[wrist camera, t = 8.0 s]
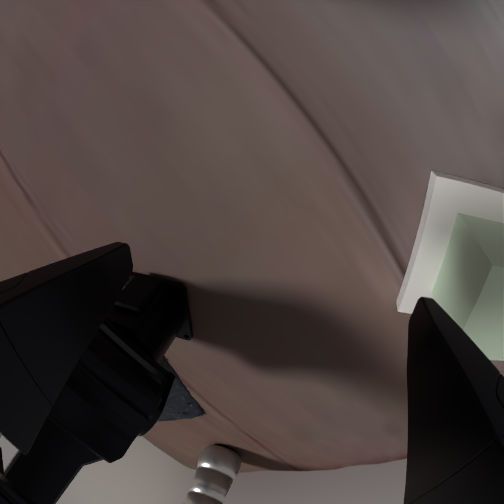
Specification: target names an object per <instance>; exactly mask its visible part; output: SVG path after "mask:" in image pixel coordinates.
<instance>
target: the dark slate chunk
mask: <svg viewBox="0 0 504 504" xmlns="http://www.w3.org/2000/svg"><path fill="white" fill-rule="evenodd" d="M159 364H160V365H161V366H163V367H164V368H165V369H166V370H168V371H169V372H172V373H173V374H174V375H176V373H175V371H174V370H173V369H172V368H171V366H170V365H169V364H168V362H167V361H166V360H165V359H164V357H162V359H161V361H160V362H159ZM202 414H204V413H203V410H202V409H201V408H200V405H199V403H198V402H197V401H196V400H195V399H194V398H193V397H192V396H191V395H190V392H189V391H188V390H187V388H186V386H185V385H184V384H183V383H182V382H181V380H180V379H179V377H178V376H177V375H176V377H175V379H174V382H173V385H172V388H171V390H170V393H169V396H168V399H167V401H166V404H165V407H164V409H163V412H162V414H161V416H160V417H159V419H158V420H157V421H169V420H177V419H188V418H189V419H190V418H194V417H197V416H200V415H202Z"/></svg>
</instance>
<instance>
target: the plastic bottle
mask: <svg viewBox="0 0 504 504" xmlns="http://www.w3.org/2000/svg"><path fill="white" fill-rule="evenodd" d="M240 468H241V459H240V456H239V455H238V454H237V453H236V452H234V451H232V450H230V449H228V448H225V447H222V446H217V445H210V446H208V447H206V448H204V450H203V451H202V453H201V454H200V456H199V460H198V465H197V470H196V474H195V477H194V480H193V483H192V486H191V488H190V490H189V492H188V494H187V496H186V498H185V499H184V501H183V503H182V504H223V503H224V500H225V497H226V495H227V493H228V491H229V489H230V487H231V484H232V483H233V480H235V478H236V477H237V475H238V473H239V471H240Z"/></svg>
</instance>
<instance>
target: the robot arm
mask: <svg viewBox="0 0 504 504" xmlns="http://www.w3.org/2000/svg"><path fill="white" fill-rule="evenodd" d="M132 270H133V262H132V257H131V252H130V247H129V245H128V244H126V243H121V242H115V243H112V244H109V245H106V246H102V247H99V248H96V249H93V250H90V251H87V252H84V253H81V254H78V255H75V256H72V257H69V258H66V259H63V260H61V261H58V262H55V263H52V264H49V265H46V266H43V267H41V268H38V269H35V270H32V271H29V272H28V273H24V274H21V275H18V276H16V277H13V278H10V279H7V280H4V281H1V282H0V437H1V435H2V436H3V437H5V438H6V439H7V440H8V441H9V442H10V443H11V444H12V445H13V446H15V447H16V448H17V449H18V451H17V453H16V454H15V456H14V457H13V458H12V460H11V461H10V463H9V464H8V466H7V467H6V469H5V470H3V460H2V451H1V447H0V504H55V503H56V502H57V501H58V499H59V498H60V497H61V495H62V494H63V493H64V491H65V490H66V488H67V487H68V486H69V484H70V483H71V482H72V480H73V479H74V477H75V476H76V475H77V473H78V472H79V471H80V469H81V468H82V467H83V466H84V465H88V464H91V463H94V462H98V461H101V460H105V461H107V462H109V463H112V462H114V461H116V460H118V459H120V458H122V457H123V456H124V454H125V453H126V451H127V449H128V448H129V446H130V445H131V444H132V442H133V441H134V439H135V438H136V437H137V436H142V435H144V434H145V433H147V432H148V431H149V430H150V429H151V428H152V427H153V426H154V424H155V423H156V422H157V420H158V419H159V417H160V416H161V414H162V412H163V409H164V407H165V404H166V401H167V399H168V396H169V393H170V390H171V388H172V385H173V382H174V379H175V377H176V375H174V374H173V373H172V372H169V371H168V370H166V369H165V368H164V367H163V366H161V365H160V364H159V362H160V361H161V359H162V357H163V356H164V354H165V353H166V351H167V350H168V348H169V346H170V345H171V343H172V342H173V340H174V339H175V337H178V338H181V339H185V340H191V338H192V337H193V333H192V326H191V319H190V313H189V306H188V298H187V291H186V287H185V286H184V285H183V284H180V283H175V282H171V281H166V280H162V279H157V278H153V277H148V276H144V275H139V274H135V273H132ZM124 286H125V288H124V289H123V287H124ZM122 289H123V290H122ZM179 289H180V290H179ZM407 390H408V451H407V471H406V486H405V496H404V504H504V377H503V375H502V374H500V372H499V371H498V369H497V368H496V367H495V366H494V365H493V363H492V362H491V361H490V360H489V359H488V358H487V356H486V355H485V354H484V353H483V352H482V351H481V350H480V348H479V347H478V346H477V345H476V344H475V343H474V342H473V341H472V339H471V338H470V337H469V336H468V335H467V334H466V333H465V332H464V331H463V330H462V328H461V327H460V326H459V325H458V324H457V323H456V322H455V321H454V320H453V319H452V318H451V317H450V316H449V315H448V313H447V312H446V311H445V310H444V309H443V308H442V307H441V306H440V305H439V304H438V303H437V302H436V301H435V300H434V299H433V298H428V297H420V298H419V299H418V300H417V303H416V305H415V308H414V310H413V312H412V315H411V317H410V320H409V325H408V356H407Z"/></svg>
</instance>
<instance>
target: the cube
mask: <svg viewBox="0 0 504 504" xmlns="http://www.w3.org/2000/svg"><path fill="white" fill-rule="evenodd" d="M431 293H432V297H433V299H434V300H435V301H436V302H437V303H438V304H439V305H440V306H441V307H442V308H443V309H444V310H445V311H446V312H447V313H448V315H449V316H450V317H451V318H452V319H453V320H454V321H455V322H456V323H457V324H458V325H459V326H460V327H461V328H462V330H463V331H464V332H465V333H466V334H467V335H468V336H469V337H470V338H471V339H472V341H473V342H474V343H475V344H476V345H477V346H478V347H479V348H480V350H481V351H482V352H483V353H484V354H485V355H486V356H487V358H488V359H489V360H503V361H504V224H503V223H500V222H496V221H491V220H487V219H483V218H479V217H475V216H470V215H466V214H461V213H457V216H456V220H455V223H454V227H453V230H452V234H451V237H450V240H449V243H448V246H447V250H446V253H445V256H444V259H443V262H442V265H441V267H440V270H439V273H438V276H437V279H436V281H435V284H434V287H433V289H432V292H431Z"/></svg>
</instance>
